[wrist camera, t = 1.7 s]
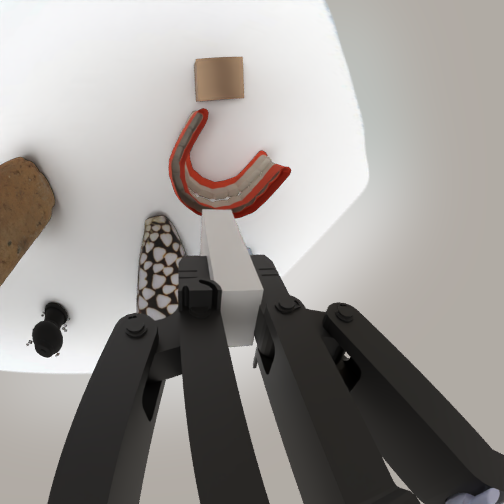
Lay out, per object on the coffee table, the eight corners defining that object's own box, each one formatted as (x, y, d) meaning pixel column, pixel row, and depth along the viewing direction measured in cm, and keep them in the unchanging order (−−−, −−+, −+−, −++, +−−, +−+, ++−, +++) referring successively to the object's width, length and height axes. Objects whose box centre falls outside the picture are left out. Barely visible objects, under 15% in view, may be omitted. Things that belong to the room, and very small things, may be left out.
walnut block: (196, 101, 30) (198, 101, 26) (194, 65, 27) (196, 59, 23) (235, 98, 31) (244, 98, 27) (234, 62, 28) (242, 56, 24)
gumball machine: (43, 318, 39) (29, 358, 31) (39, 295, 37) (21, 335, 29) (72, 325, 42) (62, 367, 34) (70, 303, 39) (56, 345, 31)
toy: (151, 172, 33) (144, 191, 26) (196, 105, 30) (200, 105, 23) (228, 215, 39) (240, 242, 32) (272, 156, 36) (294, 171, 29)
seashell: (220, 283, 45) (231, 327, 37) (159, 317, 46) (160, 362, 37) (160, 206, 36) (156, 241, 28) (95, 253, 36) (79, 295, 28)
